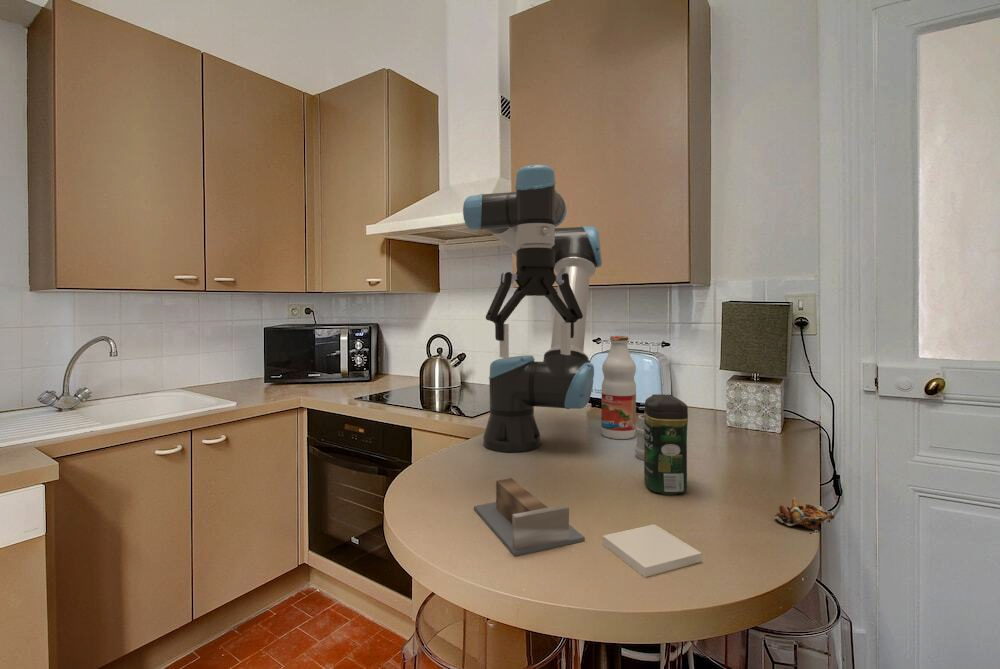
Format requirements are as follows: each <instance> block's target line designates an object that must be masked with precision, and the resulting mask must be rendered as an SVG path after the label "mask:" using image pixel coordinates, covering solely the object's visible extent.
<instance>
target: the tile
mask: <svg viewBox="0 0 1000 669" xmlns="http://www.w3.org/2000/svg"><path fill="white" fill-rule="evenodd" d="M601 538H602V546H604V547H606V548H607V549H608V550H610V552H612V553H613V554H614V555H616V556H617V557H618V558H620V559H621V560H623V561H624V562H625V563H626V564H628V565H629V566H630V567H631V568H632V569H634V570H635V571H636V572H638V573H639V574H640V575H641V576H643V577H645V578H647V577H652V576H654V575H658V574H662V573H665V572H671V571H673V570H676V569H680V568H681V569H682V568H684V567H687V566H691V565H692V566H693V565H694V564H699V563H702V560H703V558H702V556H703V555H702V552H700V551H699V550H697V549H696V548H694V547H693V546H691V545H689V544H688V543H685V542H684V541H682V540H681V539H680V538H678V537H676V536H674V535H673V534H671V533H670V532H668V531H666V530H664V529H663V528H661V527H660V526H658V525H656V524H655V523H654V524H649V525H644V526H641V527H636V528H632V529H627V530H622V531H618V532H613V533H608V534H605V535H602V537H601Z"/></svg>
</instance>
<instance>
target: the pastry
mask: <svg viewBox="0 0 1000 669" xmlns="http://www.w3.org/2000/svg"><path fill="white" fill-rule="evenodd" d="M773 519H776V520H777V521H778V522H780V523H784V524H785V525H787V526H789V527H790V526H791V527H792V526H795V525H801V526H803V527H804V528H807V529H810V530H812V531H813V530H814V531H815V530H818V531H817V532H818V533H817V532H810V533H809V535H810V534H814V535H815V534H816V535H817V536H819V534H820V533H819V532H822V530H821V529H820V527H819V525H820V524H821V523H823V524H825V525H827V524H829V523H830V524H831V520H833V519H835V513H834V512H833V511H832V512H831V511H829V510H825V509H824V507H823V506H821V505H814V504H811V503H810V504H805V505H802V504H799V503H797V499H796V498H795V496H794V497H793V498H792V500H791V507H789V506H785V505H780V506H779V510H778V512H777V513H776V514H775V515H774V517H773ZM819 529H820V531H819ZM814 535H813V536H814Z"/></svg>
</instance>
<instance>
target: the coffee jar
mask: <svg viewBox="0 0 1000 669" xmlns="http://www.w3.org/2000/svg"><path fill="white" fill-rule="evenodd" d="M688 408H689V407H688V405H687V404H686V403H685V402H684V401H682V400H681V399H679V398H677V397H675V396H674V395H673V394H661V393H660V394H659V393H658V394H657V393H656V394H652V395H651V396H649V397H647V398H646V399H645V401H644V414H645V421H644V460H643V461H644V462H643V463H644V465H643V466H644V467H643V478H644V483H645V484H646V486H647V488H648V490H650V491H652V492H653V493H654V492H655V493H659V494H663V495H671V496H674V495H679V494H684V493H685V492H687V490H688V489H687V488H688V422H689V420H688V419H689V418H688V417H689V414H688V413H689V412H688V411H689V410H688Z"/></svg>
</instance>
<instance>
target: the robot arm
mask: <svg viewBox="0 0 1000 669" xmlns="http://www.w3.org/2000/svg"><path fill="white" fill-rule="evenodd" d="M516 172H517V173H516V180H515V188H514V189H515V191H510V192H498V193H496V192H495V193H494V192H493V193H483V194H482V193H479V194H475V195H473V194H472V195H469V196H467V197H466V198H465V200H464V201H463V205H462V218H463V220H464V221H463V222H464V224H465V226H466V227H467V228H468V229H469V230H478V231H481V230H486V231H488V232H489V233H490V234H492V235H493V236H494V237H495V238H497V239H498V240H499V241H501V242H502V243H504V244H505V245H506V246H508V247H509V248H510V250H511V253H512V254H513V255H514V256H515V258H516V263H515V264H516V272H515V273H512V272H510V271H508V272H507V271H506V272H502V273H501V274H500V275H501V276H500V284H499V286H498V288H497V290H496V293H495V295H494V297H493V299H492V301H491V304H490V306H489V308H488V310H487V313H486V315H485V320H487V321H490V322H492V323H494V326H495V328H494V329H495V331H494V332H495V337H494V338H495V340H496V341H498V342H499V358H498V359H496V360H493V361H492V362H491V363H490V365H489V366H490V367H489V376H488V379H489V417H488V420H487V424H486V426H485V430H484V433H483V446H484V447H485V448H487V449H489V450H493V451H496V452H502V453H504V452H505V453H521V452H528V451H532V450H535V449H537V448H539V447H541V434H540V430H539V427H538V424H537V421H536V418H535V407H539V408H551V409H552V408H553V409H554V408H556V409H565V410H572V409H576V410H577V409H579V410H580V409H584V408H585V407H586V406H587V405H588V403H589V401H590V399H591V395H592V392H593V386H594V378H595V376H594V375H595V367H594V364H593V363H592V362H589V361H590V359H589V356H588V355H587V354H586V353H585V352H584V348H585V339H586V338H585V336H586V326H587V324H586V322H587V311H588V301H589V300H588V299H589V291H590V290H589V288H590V287H589V286H590V279H591V278H592V277H593V276H594V275H595V274H596V270H597V268H600V267H602V266H603V265H602V264H603V262H602V249H601V248H602V247H601V242H600V235H599V230H598V228H597V227H596V226H585V225H581V226H574V227H558V226H560V225H561V224H562V223H563V221H564V220H565V218H566V216H567V210H568V209H567V205H566V202H565V200H564V198H563V196H562V195H561V194H560V193H558V192H557V190H556V179H555V177H556V176H555V170H554V168H552V167H550V166H547V165H544V164H532V165H531V164H530V165H526V166H522V167H521V168H519V169H518V170H517V171H516ZM555 273H556V274H555ZM514 282H515V283H516V285H517V286H518V287H517V288H516V289H515V290H514V292H513V295H512V296H511V297H510V298H509V299H508V301H507V302H506V303H505V304H504V306H503V303H504V302H505V299H506V297H507V295H508V293H509V291H510V288H511V285H513V284H514ZM554 284H557V290H556V289H555V287H554V286H553V285H554ZM526 296H527V297H534V296H537V297H539V296H540V297H543V296H544V297H545V298H547V300H548V301H549V302H550V304H552V306H553V307H554V316H553V317H554V318H553V327H552V333H551V334H552V335H551V344H550V349H548V350H547V351H545V352H544V355H543V361H535V358H534V355H518V356H516V355H515V356H509V355H510V354H509V351H510V348H509V346H510V345H509V344H510V342H509V341H510V340H509V338H510V337H509V332H510V330H509V324H508V323H506V321H507V320H508V319H509V317H510V316H511V315H512V313H513V312H514V310H515V309H516V308H517V306H518V305H519V304H520V303H521V302H522V300H523V299H524V298H525V297H526ZM502 307H503V308H502Z"/></svg>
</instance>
